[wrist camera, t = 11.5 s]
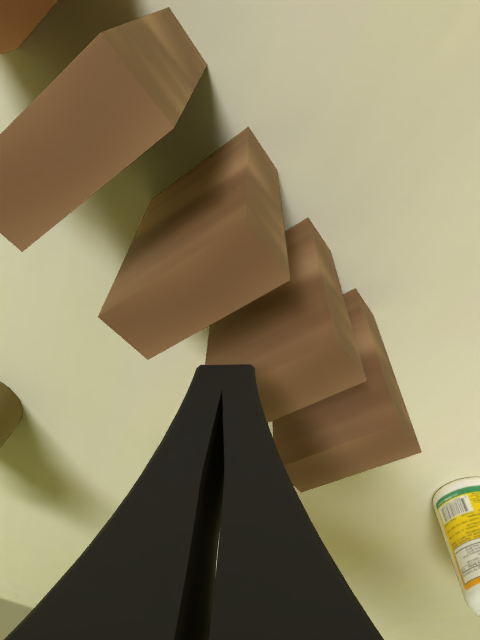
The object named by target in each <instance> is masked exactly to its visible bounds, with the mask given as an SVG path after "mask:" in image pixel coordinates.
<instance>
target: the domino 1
mask: <svg viewBox="0 0 480 640" xmlns="http://www.w3.org/2000/svg"><path fill="white" fill-rule="evenodd" d="M58 1H59V0H0V54H2V53H5V52H8V51H12V50H15V49H17V48H18V47H19V46H20V45H21V44H22V42H23V41H24V40H25V39H26V38H27V37H28V35H29V34H30V33H31V32H32V31H33V30H34V28H35V27H36V26H37V25H38V24H39V23H40V21H41V20H42V19H43V18H44V17H45V16H46V15H47V13H48V12H49V11H50V10H51V9H52V8H53V6H54V5H55V4H56V3H57V2H58Z"/></svg>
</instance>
